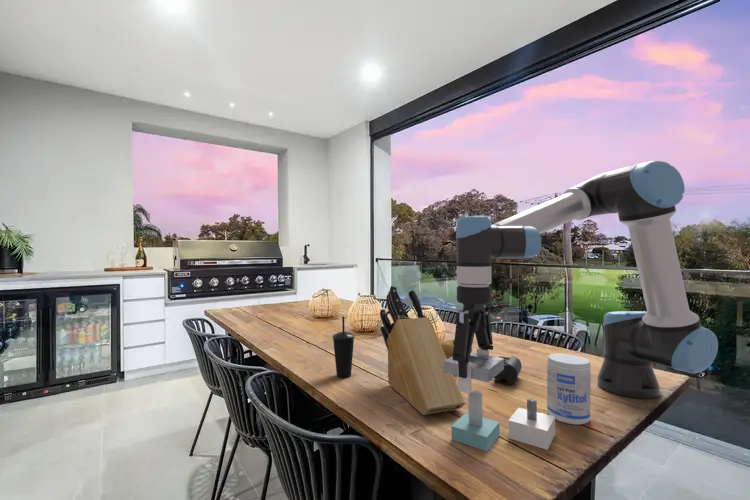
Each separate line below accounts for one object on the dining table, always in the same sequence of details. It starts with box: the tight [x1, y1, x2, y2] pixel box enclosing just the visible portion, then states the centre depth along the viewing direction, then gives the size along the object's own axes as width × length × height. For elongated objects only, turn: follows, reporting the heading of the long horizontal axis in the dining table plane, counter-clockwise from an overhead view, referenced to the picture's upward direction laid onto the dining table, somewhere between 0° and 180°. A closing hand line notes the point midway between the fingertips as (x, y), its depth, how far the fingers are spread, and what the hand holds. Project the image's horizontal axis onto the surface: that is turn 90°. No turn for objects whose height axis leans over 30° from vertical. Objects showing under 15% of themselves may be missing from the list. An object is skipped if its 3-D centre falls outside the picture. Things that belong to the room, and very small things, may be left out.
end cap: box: [493, 355, 522, 386], centre depth 114 cm, size 10×7×7 cm
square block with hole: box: [444, 352, 504, 383], centre depth 79 cm, size 10×10×2 cm
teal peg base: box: [451, 389, 501, 452], centre depth 79 cm, size 8×8×10 cm
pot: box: [440, 338, 473, 359], centre depth 127 cm, size 12×12×10 cm
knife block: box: [379, 285, 466, 416], centre depth 105 cm, size 11×35×31 cm, turn 20°
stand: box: [507, 398, 556, 451], centre depth 80 cm, size 8×8×8 cm
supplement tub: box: [546, 352, 592, 426], centre depth 89 cm, size 10×10×15 cm
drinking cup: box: [331, 316, 356, 379], centre depth 120 cm, size 8×8×20 cm
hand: (474, 384), depth 79 cm, fingers closed on square block with hole, 10 cm apart
